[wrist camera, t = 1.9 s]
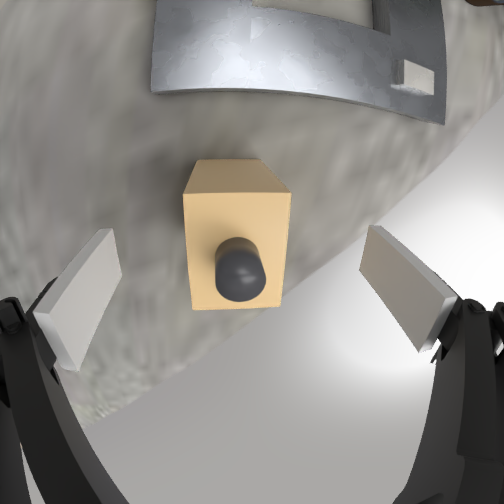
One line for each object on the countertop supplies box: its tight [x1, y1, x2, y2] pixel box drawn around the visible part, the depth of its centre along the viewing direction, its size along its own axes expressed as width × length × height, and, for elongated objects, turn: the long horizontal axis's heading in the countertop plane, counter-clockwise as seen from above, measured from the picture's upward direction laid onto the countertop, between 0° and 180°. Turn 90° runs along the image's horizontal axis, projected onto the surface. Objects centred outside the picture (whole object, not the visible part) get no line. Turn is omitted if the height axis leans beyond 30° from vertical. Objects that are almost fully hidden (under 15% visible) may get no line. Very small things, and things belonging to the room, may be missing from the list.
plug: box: [183, 159, 291, 310], centre depth 16 cm, size 4×6×11 cm
